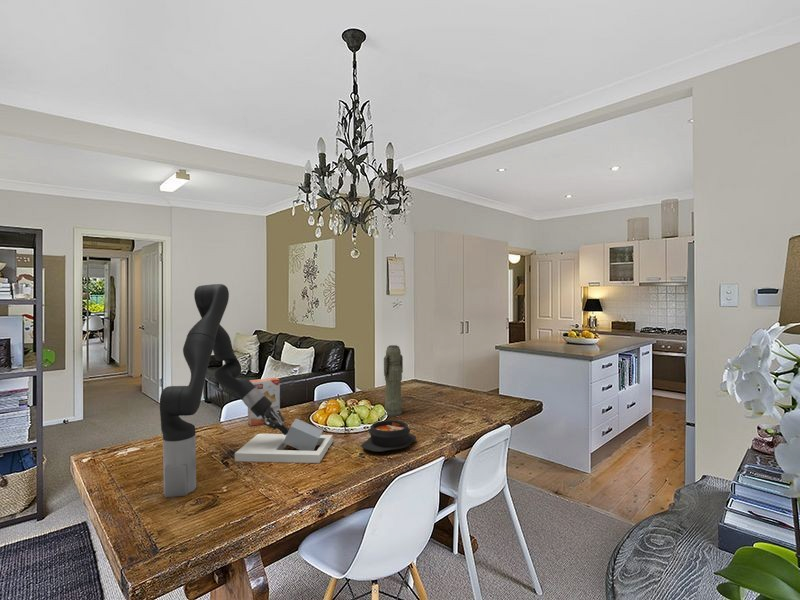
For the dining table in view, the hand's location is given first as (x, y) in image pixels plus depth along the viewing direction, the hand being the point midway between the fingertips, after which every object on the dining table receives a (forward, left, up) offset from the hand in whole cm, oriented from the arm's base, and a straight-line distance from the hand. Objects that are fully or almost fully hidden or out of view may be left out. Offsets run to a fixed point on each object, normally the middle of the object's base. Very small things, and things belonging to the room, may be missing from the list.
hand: (287, 433), depth 169 cm
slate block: (0, -5, -5) cm, 7 cm away
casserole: (-3, -41, -7) cm, 41 cm away
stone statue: (+42, -51, -7) cm, 66 cm away
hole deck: (0, 0, -7) cm, 7 cm away
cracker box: (+40, +13, -7) cm, 43 cm away
